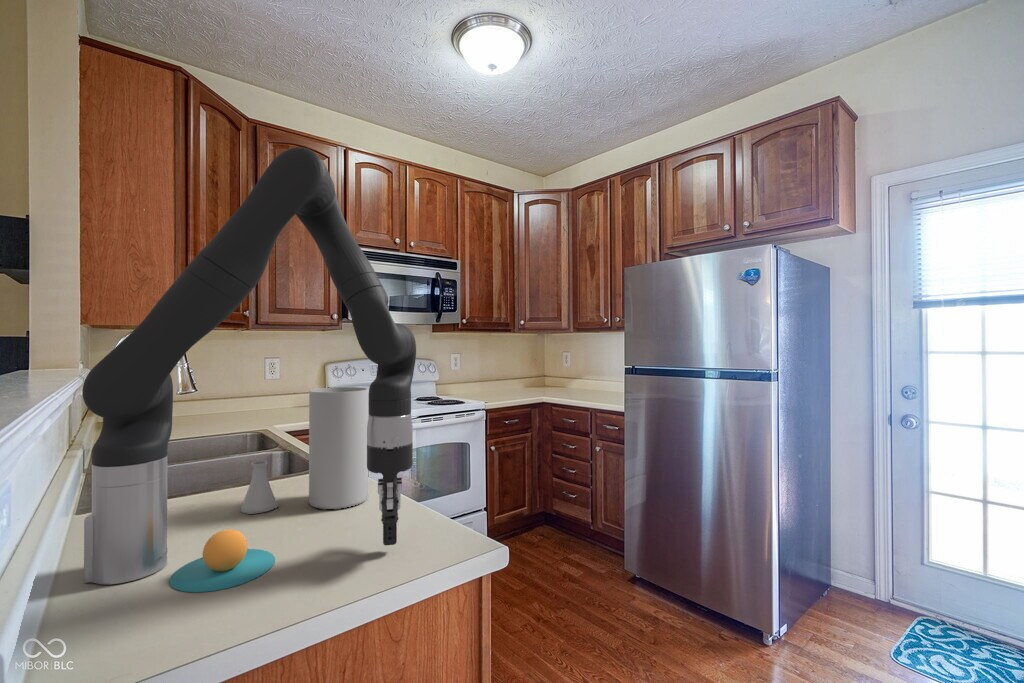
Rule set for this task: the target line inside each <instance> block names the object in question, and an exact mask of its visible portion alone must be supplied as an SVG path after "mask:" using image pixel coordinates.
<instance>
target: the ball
mask: <svg viewBox="0 0 1024 683" xmlns="http://www.w3.org/2000/svg"><path fill="white" fill-rule="evenodd" d="M247 549H248V542H247V539H246V537H245V535H244V534H243V533H242V532H241V531H239V530H235V529H229V528H228V529H222V530H221V531H218V532H216V533H214V534H213V535H212V536H210V538H208V540H207V541H206V543H205V545H204V546H203V550H202V557H203V560H204V562H205V564H206V565H207V566H208V567H209V568H210V569H212V570H215V571H227V570H230V569H232V568H234V567H235V566H237V565H238V564H239V563H240V562H241V561H242V560H243V558H244V557H245V555H246V552H247Z"/></svg>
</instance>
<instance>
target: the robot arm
mask: <svg viewBox="0 0 1024 683" xmlns="http://www.w3.org/2000/svg"><path fill="white" fill-rule="evenodd" d="M335 190H336V188H335V183H334V181H333V179H332V176H331V174H330V172H329V170H328V168H327V166H326V165H325V162H324V161H323V160H322V158H321V157H320V156H319V155H318V154H317V153H316V152H315V151H313V150H311V149H310V148H307V147H302V146H301V147H299V146H297V147H291V148H289V149H286V150H285V151H284V150H283V151H282V152H281V153H279V154H278V155H277V156H275V158H273V159H272V160H271V162H270V163H269V165H268V166H267V168H266V169H265V170H264V172H263V174H262V175H261V176H260V178H258V181H257V182H256V184H255V185H254V187H253V188H252V190H251V191H250V192H249V194H248V195H247V197H246V198H245V199H244V200H243V202H242V203H241V205H240V206H239V207H238V208H237V210H236V211H235V212H234V213H233V214H232V215H231V216H230V217H229V218H228V220H227V221H226V222H225V223H224V225H222V226H221V227H220V229H219V231H217V232H216V234H215V235H214V236H213V237H212V239H210V241H209V242H208V243H206V245H205V246H204V247H203V248H202V249H200V251H199V253H197V255H196V256H195V257H194V258H193V259H192V260H191V261H190V262H189V264H188V265H187V266H186V267H185V268H184V269H183V271H182V272H181V273H180V274H179V275H178V277H177V278H176V280H175V281H174V282H173V283H172V284H171V286H170V287H168V289H167V290H166V291H165V293H163V295H162V296H161V297H160V299H159V300H158V302H156V303H155V305H154V306H153V308H152V309H151V310H150V311H149V313H148V314H147V315H146V316H145V317H144V319H143V320H142V321H141V322H140V323H139V324H138V326H137V327H136V328H135V329H133V331H131V332H130V334H129V335H127V336H126V337H125V338H124V339H123V340H121V342H120V343H119V344H118V345H116V346H115V347H114V348H113V349H112V350H111V351H109V353H108V354H106V355H105V356H104V357H103V358H102V359H101V360H99V362H98V363H96V364H95V365H94V367H92V369H90V371H89V372H88V373H87V375H86V377H85V379H84V382H83V386H82V391H81V392H82V400H83V402H84V404H85V406H86V407H87V409H88V410H89V411H90V412H91V413H93V414H94V415H96V416H98V417H101V418H102V427H101V431H100V432H99V436H98V438H97V439H96V441H95V443H94V444H93V445H92V448H91V449H92V450H91V513H90V514H89V515H87V516H86V517H85V518H84V520H83V531H84V532H83V583H84V584H85V583H86V584H87V583H93V584H94V583H95V584H97V585H116V584H123V583H128V582H131V581H136V580H140V579H143V578H146V577H149V576H150V575H152V574H154V573H157V572H159V571H160V570H162V569H163V568H165V566H166V565H167V563H168V448H169V441H170V438H171V435H172V430H173V429H172V428H173V410H174V409H173V408H174V407H173V406H174V385H173V379H172V378H173V377H172V376H171V375H172V374H171V373H172V371H174V369H175V367H176V365H177V364H178V363H179V362H180V361H181V359H182V358H183V357H184V356H185V355H186V353H188V351H190V349H191V348H192V347H193V346H194V345H196V344H197V343H198V342H199V341H200V340H201V339H203V338H204V337H206V336H207V335H208V334H209V333H211V332H212V331H213V330H214V329H216V328H217V327H218V326H219V325H221V323H222V322H224V321H225V320H226V319H227V318H228V317H229V316H230V315H232V314H233V312H234V311H236V310H237V308H238V307H239V306H241V304H242V303H243V302H244V300H246V298H247V297H248V296H249V294H250V293H251V292H252V291H253V289H254V288H255V287H256V285H258V283H259V281H260V280H261V278H262V277H263V274H264V272H265V269H266V267H267V265H268V262H269V260H270V258H271V254H272V252H273V249H274V246H275V243H276V241H277V240H278V237H279V235H280V234H281V232H282V231H283V229H284V228H285V227H286V225H287V224H288V223H289V222H290V221H291V219H292V218H293V217H294V216H296V217H297V218H298V219H299V221H300V223H301V224H302V225H303V226H304V227H305V228H306V230H307V231H308V232H309V234H310V235H311V238H313V240H314V242H315V244H316V246H317V248H318V249H319V252H320V254H321V256H322V259H323V261H324V264H325V266H326V269H327V271H328V274H329V276H330V279H331V280H332V282H333V284H334V287H335V289H336V291H337V292H338V294H339V297H340V298H341V300H342V302H343V304H344V305H345V307H346V310H347V311H348V312H349V315H350V319H351V323H352V327H353V330H354V333H355V337H356V339H357V342H358V345H359V347H360V348H361V351H362V352H363V353H364V355H365V356H366V357H367V358H368V359H369V360H370V361H371V362H372V363H374V364H375V365H377V368H376V369H377V370H376V376H375V379H374V380H373V381H372V382H371V383H370V385H369V388H368V389H369V415H368V424H367V469H368V472H370V473H373V474H381V475H382V478H378V479H377V494H378V495H379V496H378V499H379V503H378V506H379V507H378V508H379V511H380V512H381V519H380V520H381V523H382V544H383V546H394V545H396V544H397V542H398V541H397V537H398V536H397V531H398V530H397V528H398V527H397V526H398V521H399V512H398V511H399V510H400V509H401V494H402V493H403V481H402V480H403V477H400V476H399V477H398V474H399V473H401V472H403V473H404V472H406V471H409V470H411V468H412V467H413V464H414V463H413V459H414V458H413V449H414V448H413V447H414V446H413V443H414V442H413V438H414V437H413V436H414V434H413V433H414V432H413V431H414V430H413V421H412V420H413V419H412V388H411V387H412V382H413V379H414V373H415V366H416V360H417V358H416V357H417V343H416V338H415V335H414V333H413V332H412V330H411V329H410V328H408V327H407V326H405V325H403V324H400V323H395V321H394V319H393V317H392V315H391V312H390V310H389V308H388V305H389V297H388V294H387V292H386V289H385V288H384V286H383V284H382V283H381V280H380V278H379V277H378V275H377V273H376V271H375V269H374V268H373V266H372V265H371V263H370V261H369V259H368V258H367V256H366V254H365V253H364V251H363V250H362V248H361V247H360V245H359V244H358V243H357V241H356V239H355V237H354V236H353V234H352V233H351V230H350V228H349V227H348V224H347V222H346V220H345V217H344V215H343V212H342V209H341V206H340V203H339V200H338V196H337V193H336V191H335Z"/></svg>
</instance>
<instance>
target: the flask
mask: <svg viewBox="0 0 1024 683" xmlns="http://www.w3.org/2000/svg"><path fill="white" fill-rule="evenodd" d="M268 465H269V462H268V460H257V461H256V460H255V461H253V462H252V461H251V466H252V474H251V480H250V483H249V486H248V489H247V492H246V494H245V497H244V499H243V501H242V503H241V507H240V512H241V513H242V514H249V515H254V514H261V513H267V512H269V511H273V510H275V509H277V507H278V508H279V505H278V503H277V500H276V497H275V495H274V492H273V490H272V487H271V484H270V481H269V477H268V473H267V472H268V471H267V469H268V468H267V466H268ZM274 508H275V509H274Z"/></svg>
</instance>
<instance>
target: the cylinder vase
mask: <svg viewBox="0 0 1024 683" xmlns="http://www.w3.org/2000/svg"><path fill="white" fill-rule="evenodd" d="M308 393H309V394H308V395H309V396H308V413H309V414H308V421H309V422H308V503H309V505H311V506H312V507H313V508H315V509H318V508H319V509H320V510H326V509H334V510H342V509H341V508H344V509H348V508H347V507H349V508H352V507H351V506H353V507H356V506H359V505H361V504H363V503H364V502H365V501H367V500H368V497H369V470H368V469H367V424H368V415H369V388H367V387H359V386H358V387H357V386H353V387H352V386H342V387H341V386H339V387H338V386H337V387H336V386H335V387H320V388H313V389H312V388H311V389H310V390H309V391H308ZM358 504H359V505H358ZM355 505H356V506H355ZM319 509H318V510H319Z"/></svg>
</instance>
